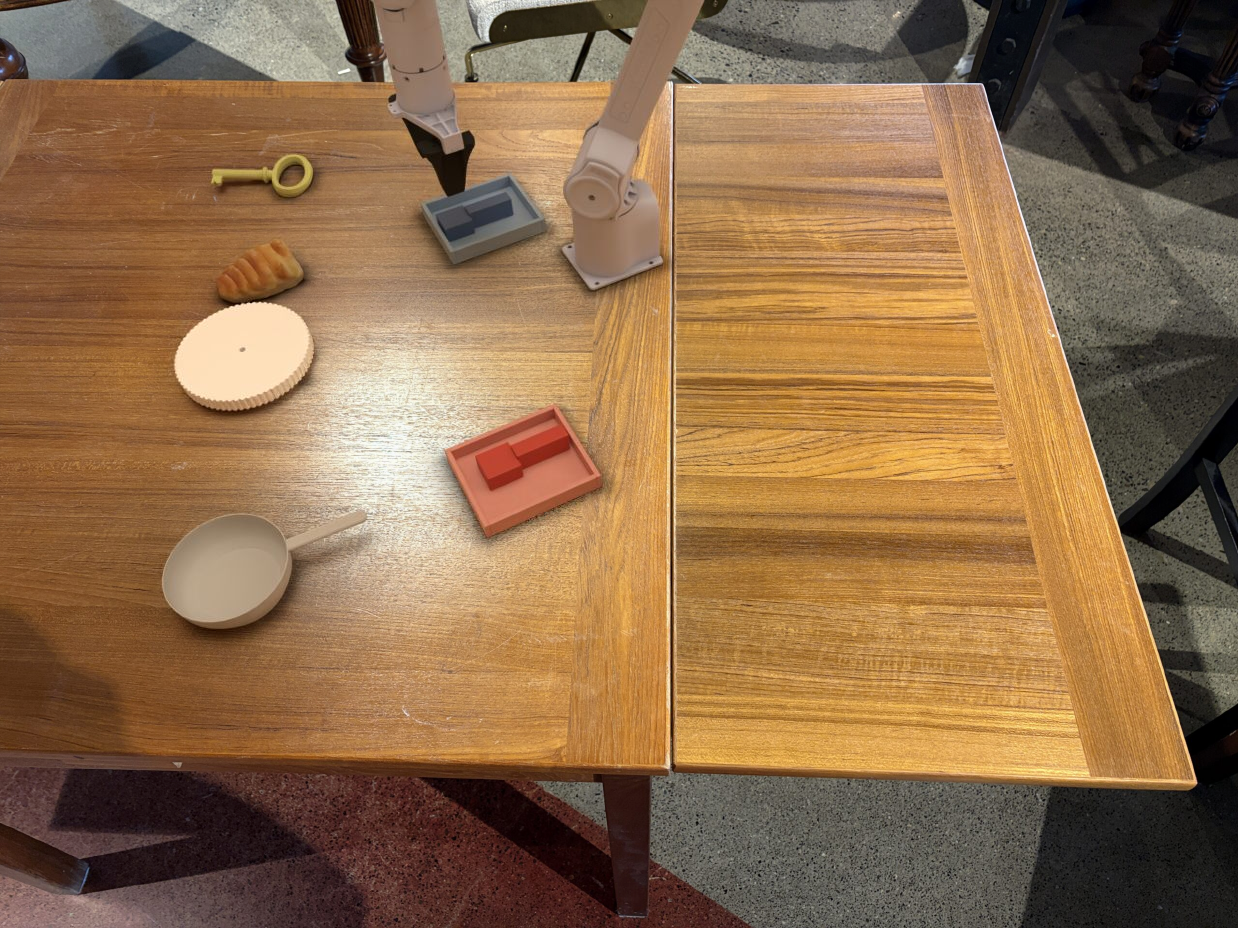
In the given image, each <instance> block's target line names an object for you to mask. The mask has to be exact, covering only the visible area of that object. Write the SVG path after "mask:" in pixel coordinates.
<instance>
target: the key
mask: <svg viewBox="0 0 1238 928" xmlns="http://www.w3.org/2000/svg"><path fill="white" fill-rule="evenodd" d="M295 165H297V166H298V165H299V166H302V167H303V170H304V176H303V178H302V179H301V181H300V182H298V183H297V184H295V185H293V186H284V185H282V184H280V177H281V176H282V173H283V172H284V170H285V169H286V168H288V167H290V166H295ZM211 175H212V178H211V181H210V185H211V186H212V187H214V186H215V185H216V186H217V187H221V186H222V185H223V182H224V180H241V181H242V180H247V181H252V180H253V181H263V182H264V183H265V184H268V183H269V182H270V181H271V184H272V186H273V188H274V190H275V192H276V193H277V194H278V195H279V196H281V197H285V198H294V197H298V196H300V195H302V194H303V193H304V192H305V191H306V190H307V189H308V188H309V186H310V185H311V184H312V183H311V182H312V180H313V176H314V169H313V166H312V164H311V163H310V161H309V160H308V159H307V158H306V157H305V156H303V155H301V154H296V153H295V154H294V153H293V154H292V153H291V154H287V155H284V156H282V157H281V158H280V159H278V160H277V161H276V162H275V164H274V166H273V168H272V169H269V167H267V166H263V167H262V169H229V168H228V169H226V168H223V169H222V168H212V169H211Z"/></svg>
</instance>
